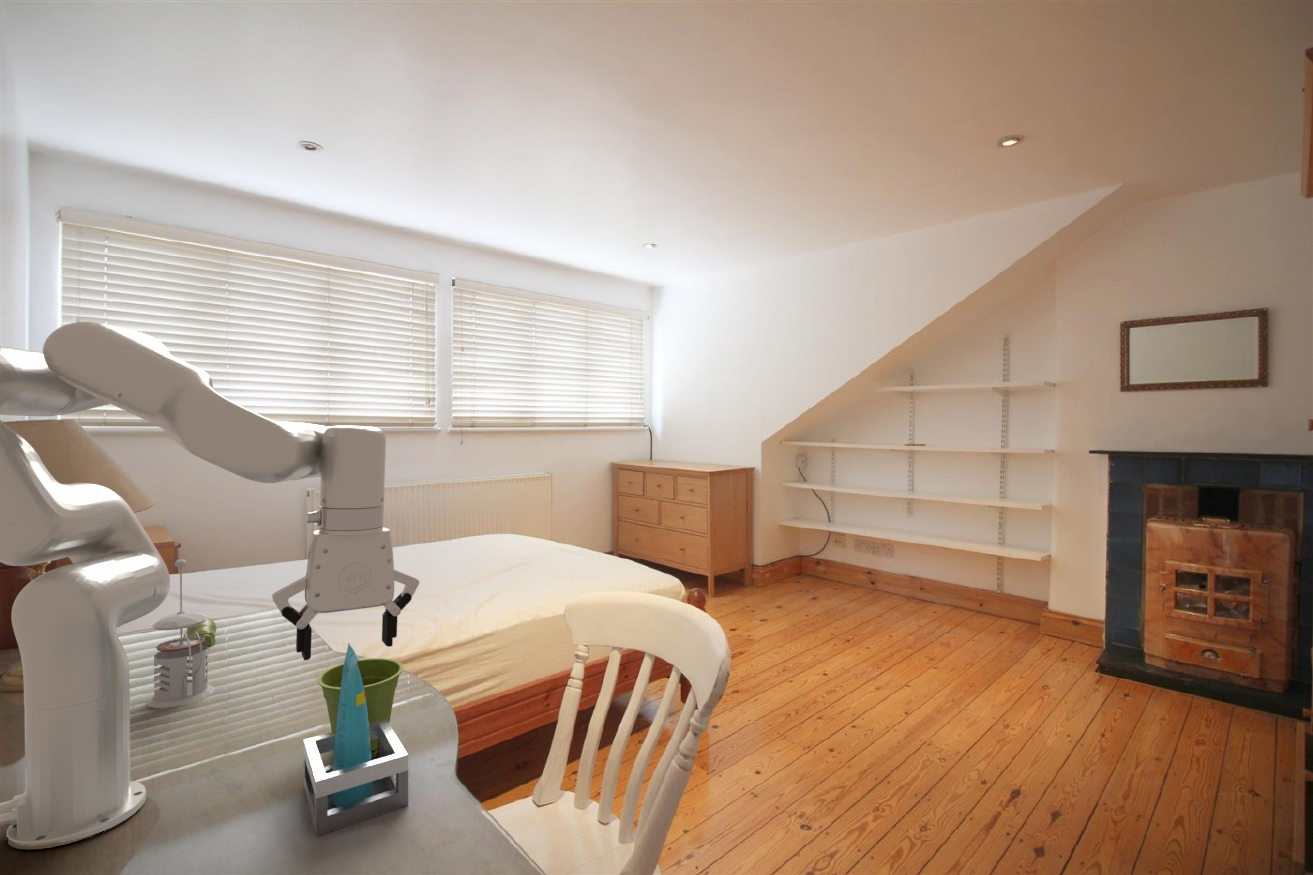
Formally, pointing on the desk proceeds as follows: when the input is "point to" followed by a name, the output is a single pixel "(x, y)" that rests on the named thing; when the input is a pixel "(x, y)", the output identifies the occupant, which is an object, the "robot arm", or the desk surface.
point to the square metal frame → (355, 779)
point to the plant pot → (376, 683)
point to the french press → (181, 660)
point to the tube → (352, 730)
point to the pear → (204, 631)
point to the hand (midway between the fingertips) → (347, 650)
